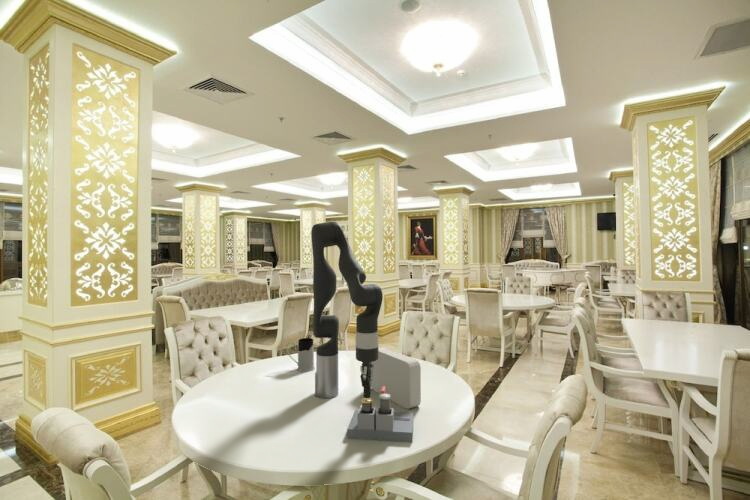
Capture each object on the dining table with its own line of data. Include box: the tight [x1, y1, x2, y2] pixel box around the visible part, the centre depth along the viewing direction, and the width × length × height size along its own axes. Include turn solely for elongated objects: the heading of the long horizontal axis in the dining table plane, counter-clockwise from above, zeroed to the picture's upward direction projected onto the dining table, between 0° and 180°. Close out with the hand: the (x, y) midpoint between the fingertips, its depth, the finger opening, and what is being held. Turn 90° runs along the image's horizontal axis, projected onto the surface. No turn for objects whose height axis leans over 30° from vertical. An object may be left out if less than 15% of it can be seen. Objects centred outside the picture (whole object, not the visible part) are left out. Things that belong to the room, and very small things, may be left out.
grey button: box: [379, 394, 391, 413], centre depth 124 cm, size 4×4×5 cm
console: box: [346, 406, 414, 443], centre depth 129 cm, size 21×15×8 cm
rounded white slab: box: [371, 346, 422, 410], centre depth 158 cm, size 29×8×18 cm, turn 33°
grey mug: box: [286, 337, 315, 373], centre depth 195 cm, size 9×14×15 cm, turn 89°
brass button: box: [361, 397, 373, 414], centre depth 125 cm, size 4×4×5 cm
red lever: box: [380, 386, 386, 395], centre depth 130 cm, size 3×4×10 cm
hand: (367, 397), depth 125 cm, fingers closed
